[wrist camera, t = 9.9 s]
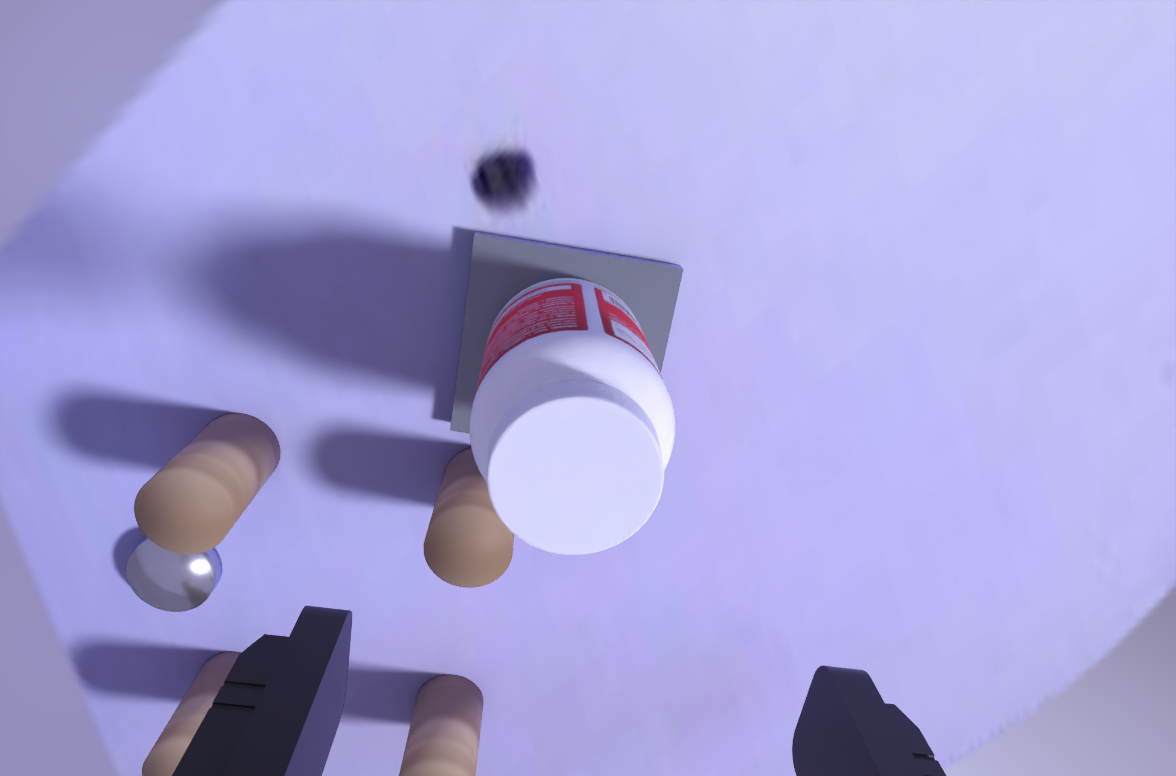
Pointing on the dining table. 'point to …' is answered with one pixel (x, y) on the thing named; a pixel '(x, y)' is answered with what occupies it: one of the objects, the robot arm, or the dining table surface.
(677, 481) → the dining table surface
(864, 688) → the robot arm
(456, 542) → the cylinder
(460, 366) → the slate coaster
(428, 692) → the cylinder
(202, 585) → the shiny metal disc
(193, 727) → the cylinder
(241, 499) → the cylinder
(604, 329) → the pill bottle
